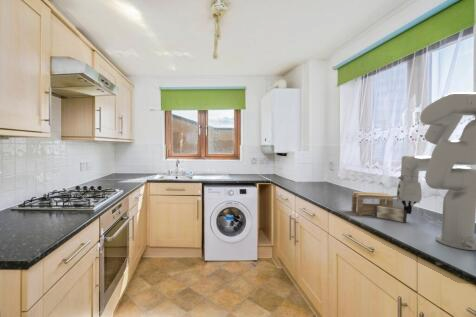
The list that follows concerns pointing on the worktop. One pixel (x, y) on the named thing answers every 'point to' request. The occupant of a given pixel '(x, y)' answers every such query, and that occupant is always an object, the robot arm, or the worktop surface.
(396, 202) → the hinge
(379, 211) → the mottled brown block
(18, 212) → the worktop surface
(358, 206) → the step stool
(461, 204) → the robot arm
